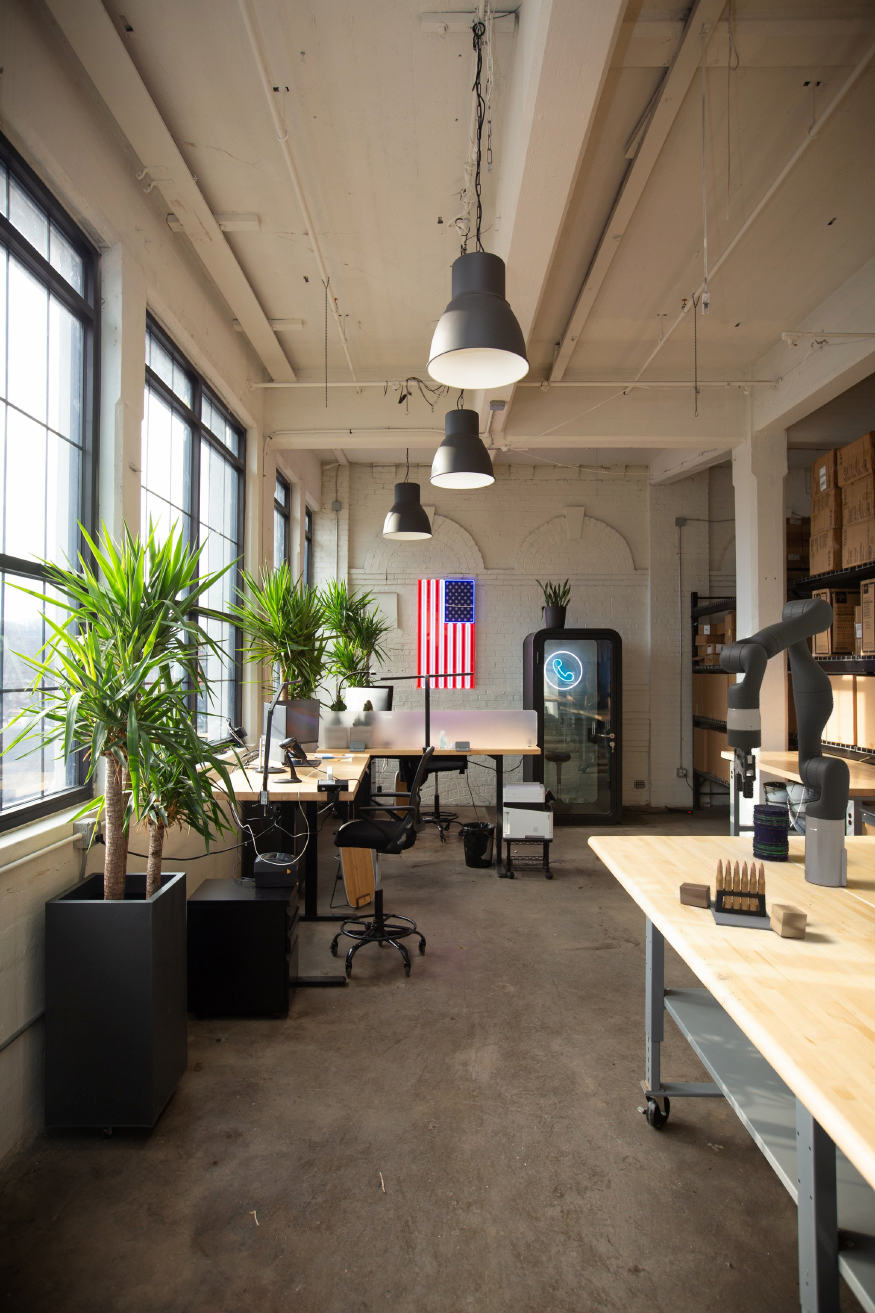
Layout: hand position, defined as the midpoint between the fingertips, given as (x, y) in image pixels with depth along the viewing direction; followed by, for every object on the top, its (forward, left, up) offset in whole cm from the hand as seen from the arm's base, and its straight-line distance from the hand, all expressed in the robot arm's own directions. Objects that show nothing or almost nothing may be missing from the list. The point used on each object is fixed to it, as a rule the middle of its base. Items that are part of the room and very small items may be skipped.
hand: (744, 794), depth 169 cm
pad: (+2, +10, -26) cm, 28 cm away
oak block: (-6, +19, -26) cm, 32 cm away
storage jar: (-15, -47, -26) cm, 56 cm away
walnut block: (+11, +5, -26) cm, 28 cm away
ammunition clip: (+2, +10, -26) cm, 27 cm away
